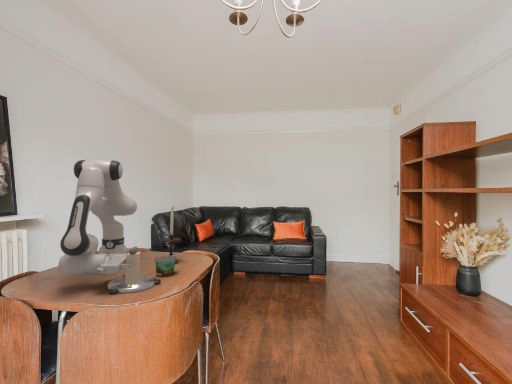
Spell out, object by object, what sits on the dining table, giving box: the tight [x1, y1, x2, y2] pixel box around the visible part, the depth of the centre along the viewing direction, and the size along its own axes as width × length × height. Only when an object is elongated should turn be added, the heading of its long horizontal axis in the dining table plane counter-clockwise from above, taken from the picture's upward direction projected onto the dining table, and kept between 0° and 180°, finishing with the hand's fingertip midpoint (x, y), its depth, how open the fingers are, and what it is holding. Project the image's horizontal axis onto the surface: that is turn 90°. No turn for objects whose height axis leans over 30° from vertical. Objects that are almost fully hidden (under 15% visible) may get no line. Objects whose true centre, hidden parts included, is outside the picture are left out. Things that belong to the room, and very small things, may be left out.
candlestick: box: [161, 206, 181, 265], centre depth 158 cm, size 11×11×35 cm
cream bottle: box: [125, 246, 142, 284], centre depth 118 cm, size 6×5×15 cm
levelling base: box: [107, 274, 162, 296], centre depth 118 cm, size 21×22×2 cm
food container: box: [153, 252, 178, 278], centre depth 133 cm, size 12×6×10 cm, turn 148°
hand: (135, 262), depth 118 cm, fingers open, 8 cm apart
